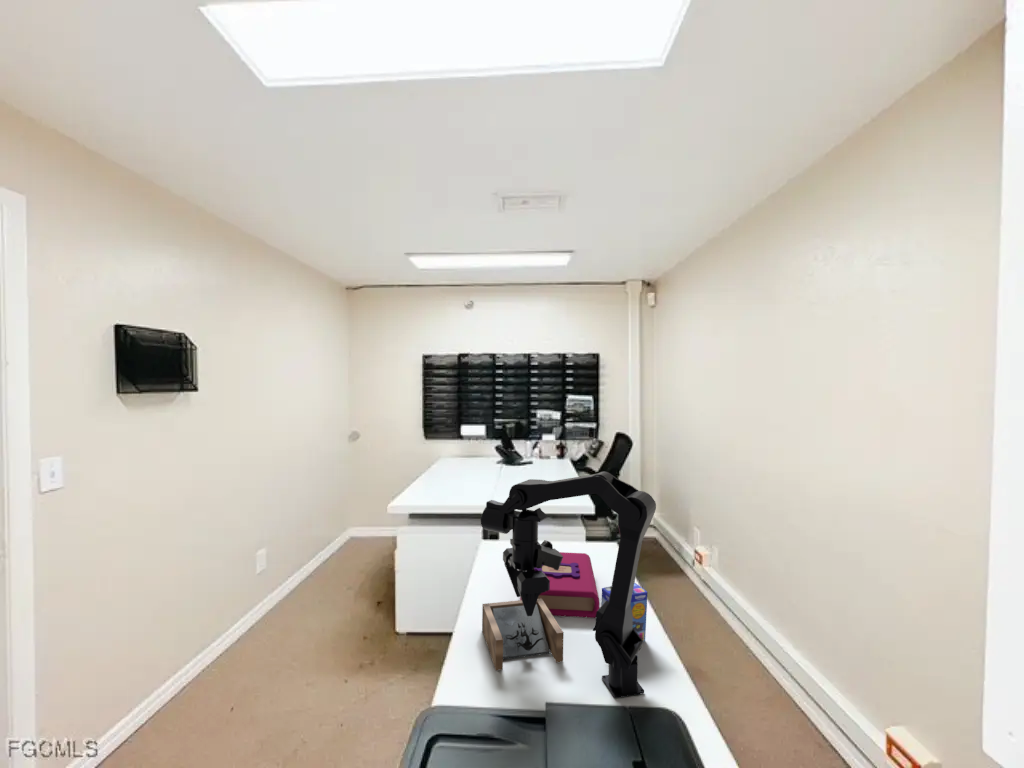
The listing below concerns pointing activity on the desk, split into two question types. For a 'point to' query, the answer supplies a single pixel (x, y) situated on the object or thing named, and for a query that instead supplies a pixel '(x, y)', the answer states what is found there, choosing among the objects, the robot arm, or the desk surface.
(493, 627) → the wooden stand
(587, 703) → the desk surface
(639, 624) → the ink cartridge box
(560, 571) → the book
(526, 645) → the creature
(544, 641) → the trapdoor
